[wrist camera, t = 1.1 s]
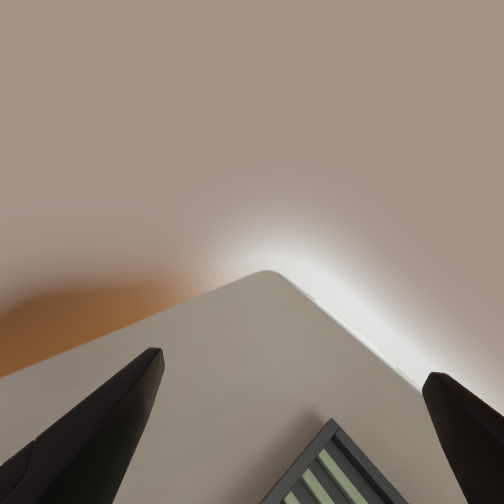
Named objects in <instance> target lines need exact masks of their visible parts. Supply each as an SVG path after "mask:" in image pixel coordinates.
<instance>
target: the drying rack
mask: <svg viewBox="0 0 504 504" xmlns="http://www.w3.org/2000/svg"><path fill="white" fill-rule="evenodd" d="M260 504H408V503H407V501H406V500H405V499H404V498H403V497H402V496H401V495H400V494H399V492H398V491H397V490H396V489H395V488H394V487H393V486H392V485H391V483H390V482H389V481H388V480H387V479H386V478H385V477H384V476H383V474H382V473H381V472H380V471H379V470H378V469H377V468H376V467H375V465H374V464H373V463H372V462H371V461H370V460H369V459H368V458H367V456H366V455H365V454H364V453H363V452H362V451H361V450H360V449H359V447H358V446H357V445H356V444H355V443H354V442H353V441H352V440H351V438H350V437H349V436H348V435H347V434H346V433H345V432H344V431H343V430H342V428H341V427H339V425H338V424H337V423H336V422H335V421H334V420H333V418H331V419H330V420H329V421H328V422H327V423H326V424H325V426H324V427H323V428H322V429H321V430H320V432H319V433H318V434H317V435H316V436H315V438H314V439H313V440H312V441H311V442H310V444H309V445H308V446H307V447H306V448H305V450H304V451H303V452H302V453H301V454H300V456H299V457H298V458H297V459H296V460H295V462H294V463H293V464H292V465H291V466H290V468H289V469H288V470H287V471H286V472H285V474H284V475H283V476H282V477H281V478H280V480H279V481H278V482H277V483H276V484H275V486H274V487H273V488H272V489H271V490H270V492H269V493H268V494H267V495H266V496H265V498H264V499H263V500H262V501H261V502H260Z"/></svg>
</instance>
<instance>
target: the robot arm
mask: <svg viewBox="0 0 504 504" xmlns="http://www.w3.org/2000/svg"><path fill="white" fill-rule="evenodd" d="M164 368H165V363H164V357H163V351H162V349H161V348H156V347H150V348H148V349H146V350H145V351H144V352H143V353H141V354H140V355H139V356H138V357H136V358H135V359H134V360H133V361H131V362H130V363H129V364H128V365H126V366H125V367H124V368H123V369H121V370H120V371H119V372H118V373H116V374H115V375H114V376H113V377H111V378H110V379H109V380H108V381H106V382H105V383H104V384H103V385H101V386H100V387H99V388H98V389H96V390H95V391H94V392H93V393H91V394H90V395H89V396H88V397H86V398H85V399H84V400H83V401H81V402H80V403H79V404H78V405H76V406H75V407H74V408H73V409H71V410H70V411H69V412H68V413H66V414H65V415H64V416H63V417H61V418H60V419H59V420H58V421H56V422H55V423H54V424H53V425H51V426H50V427H49V428H48V429H46V430H45V431H44V432H43V433H41V434H40V435H39V436H38V437H36V439H35V441H34V440H33V441H31V442H30V443H29V444H27V445H26V446H25V447H24V448H22V449H21V450H20V451H19V452H17V453H16V454H15V455H14V456H12V457H11V458H10V459H9V460H7V461H6V462H5V463H3V464H2V465H1V466H0V504H112V503H113V501H114V498H115V496H116V494H117V491H118V489H119V487H120V484H121V482H122V480H123V477H124V475H125V473H126V470H127V468H128V466H129V463H130V461H131V459H132V456H133V454H134V452H135V449H136V447H137V445H138V442H139V440H140V438H141V436H142V433H143V431H144V429H145V426H146V424H147V421H148V419H149V416H150V413H151V410H152V407H153V404H154V401H155V397H156V394H157V391H158V388H159V385H160V382H161V379H162V376H163V373H164ZM422 394H423V398H424V401H425V403H426V406H427V409H428V411H429V414H430V417H431V419H432V422H433V425H434V428H435V430H436V433H437V436H438V438H439V441H440V443H441V446H442V448H443V451H444V453H445V455H446V458H447V460H448V462H449V464H450V466H451V468H452V470H453V473H454V475H455V477H456V479H457V481H458V483H459V485H460V487H461V490H462V492H463V494H464V496H465V498H466V500H467V502H468V504H504V416H502V415H501V414H500V413H498V412H497V411H496V410H494V409H493V408H491V407H490V406H489V405H488V404H486V403H485V402H484V401H482V400H481V399H480V398H478V397H477V396H476V395H474V394H473V393H472V392H470V391H469V390H468V389H466V388H465V387H463V386H462V385H461V384H460V383H458V382H457V381H456V380H454V379H453V378H452V377H450V376H449V375H447V374H445V373H440V372H431V373H430V374H429V376H428V378H427V380H426V382H425V384H424V385H423V388H422Z"/></svg>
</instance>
